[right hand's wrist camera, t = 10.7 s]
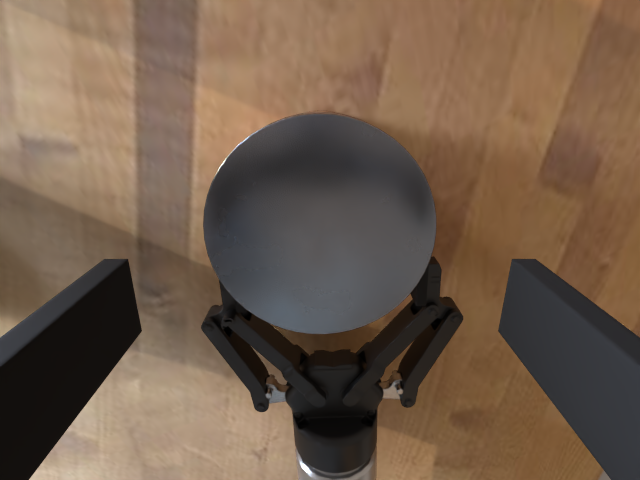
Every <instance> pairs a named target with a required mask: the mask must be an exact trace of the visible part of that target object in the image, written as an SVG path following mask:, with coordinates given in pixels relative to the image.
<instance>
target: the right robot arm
mask: <svg viewBox="0 0 640 480" xmlns="http://www.w3.org/2000/svg"><path fill="white" fill-rule="evenodd" d="M141 331H142V330H141V324H140V319H139V314H138V309H137V304H136V298H135V293H134V288H133V283H132V278H131V272H130V267H129V262H128V259H104V260H103V261H101V262H100V263H99V264H97V265H96V266H95V267H93V268H92V269H91V270H89V271H88V272H87V273H85V274H84V275H83V276H81V277H80V278H79V279H77V280H76V281H75V282H73V283H72V284H71V285H69V286H68V287H67V288H66V289H64V290H63V291H62V292H60V293H59V294H58V295H56V296H55V297H54V298H52V299H51V300H50V301H48V302H47V303H46V304H44V305H43V306H42V307H40V308H39V309H38V310H36V311H35V312H34V313H32V314H31V315H30V316H28V317H27V318H26V319H24V320H23V321H22V322H20V323H19V324H18V325H16V326H15V327H14V328H12V329H11V330H10V331H8V332H7V333H6V334H5V335H3V336H2V337H1V338H0V480H29V479H30V477H31V476H32V475H33V473H34V472H35V471H36V469H37V468H38V467H39V466H40V464H41V463H42V462H43V460H44V459H45V458H46V456H47V455H48V454H49V452H50V451H51V450H52V448H53V447H54V446H55V444H56V443H57V442H58V441H59V439H60V438H61V437H62V435H63V434H64V433H65V431H66V430H67V429H68V427H69V426H70V425H71V423H72V422H73V421H74V420H75V418H76V417H77V416H78V414H79V413H80V412H81V410H82V409H83V408H84V406H85V405H86V404H87V402H88V401H89V400H90V398H91V397H92V396H93V395H94V393H95V392H96V391H97V389H98V388H99V387H100V385H101V384H102V383H103V381H104V380H105V379H106V377H107V376H108V375H109V373H110V372H111V371H112V370H113V368H114V367H115V366H116V364H117V363H118V362H119V360H120V359H121V358H122V356H123V355H124V354H125V352H126V351H127V350H128V348H129V347H130V346H131V345H132V343H133V342H134V341H135V339H136V338H137V337H138V335H139V334H140V333H141ZM498 331H499V333H500V334H501V335H502V337H503V338H504V339H505V341H506V342H507V343H508V345H509V346H510V347H511V348H512V350H513V351H514V352H515V354H516V355H517V356H518V358H519V359H520V360H521V362H522V363H523V364H524V366H525V367H526V368H527V370H528V371H529V372H530V373H531V375H532V376H533V377H534V379H535V380H536V381H537V383H538V384H539V385H540V387H541V388H542V389H543V391H544V392H545V393H546V395H547V396H548V397H549V398H550V400H551V401H552V402H553V404H554V405H555V406H556V408H557V409H558V410H559V412H560V413H561V414H562V416H563V417H564V418H565V420H566V421H567V422H568V423H569V425H570V426H571V427H572V429H573V430H574V431H575V433H576V434H577V435H578V437H579V438H580V439H581V441H582V442H583V443H584V445H585V446H586V447H587V448H588V450H589V451H590V452H591V454H592V455H593V456H594V458H595V459H596V460H597V462H598V463H599V464H600V466H601V467H602V468H603V469H604V471H605V472H606V473H607V475H608V476H609V477H610V479H611V480H640V338H639V337H638V336H637V335H635V334H634V333H633V332H631V331H630V330H629V329H628V328H626V327H625V326H624V325H622V324H621V323H620V322H618V321H617V320H616V319H614V318H613V317H612V316H610V315H609V314H608V313H606V312H605V311H604V310H602V309H601V308H600V307H598V306H597V305H596V304H594V303H593V302H592V301H590V300H589V299H588V298H586V297H585V296H584V295H582V294H581V293H580V292H578V291H577V290H576V289H574V288H573V287H572V286H571V285H569V284H568V283H567V282H565V281H564V280H563V279H561V278H560V277H559V276H557V275H556V274H555V273H553V272H552V271H551V270H549V269H548V268H547V267H545V266H544V265H543V264H541V263H540V262H539V261H537V260H536V259H512V262H511V267H510V272H509V278H508V283H507V288H506V293H505V298H504V304H503V309H502V314H501V319H500V324H499V330H498Z"/></svg>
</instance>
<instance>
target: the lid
mask: <svg viewBox="0 0 640 480" xmlns="http://www.w3.org/2000/svg"><path fill="white" fill-rule="evenodd" d="M203 228H204V240H205V244H206V249H207V253H208V256H209V259H210V261H211V264H212V267H213V269H214V271H215V272H216V274H217V276H218V278H219V280H220V281H221V283H222V284H223V286H224V287H225V288H226V290H227V291H228V292H229V293H230V294H231V295H232V297H233V298H234V299H235V300H236V301H237V302H238V303H239V304H241V305H242V306H243V307H244V308H245V309H246V310H248V311H249V312H251V313H252V314H254V315H255V316H257V317H258V318H260V319H262V320H264V321H266V322H268V323H270V324H272V325H275V326H278V327H280V328H283V329H287V330H291V331H295V332H301V333H308V334H331V333H339V332H344V331H349V330H353V329H356V328H359V327H362V326H365V325H367V324H369V323H372V322H374V321H376V320H378V319H379V318H381V317H383V316H384V315H386V314H388V313H389V312H390V311H392V310H393V309H394V308H396V307H397V306H398V305H399V304H400V303H401V302H402V301H403V300H404V299H405V298H406V297H407V296H408V295H409V294H410V293H411V292H412V290H413V289H414V288H415V287H416V285H417V284H418V282H419V281H420V279H421V277H422V276H423V274H424V272H425V270H426V268H427V266H428V263H429V261H430V258H431V255H432V251H433V248H434V243H435V236H436V212H435V204H434V200H433V196H432V193H431V189H430V187H429V184H428V182H427V180H426V178H425V175H424V173H423V172H422V170H421V169H420V167H419V165H418V164H417V162H416V161H415V160H414V158H413V157H412V156H411V155H410V154H409V152H408V151H407V150H406V149H405V148H404V147H403V146H402V145H400V144H399V143H398V142H397V141H396V140H395V139H394V138H392V137H391V136H389V135H388V134H386V133H385V132H383V131H382V130H380V129H379V128H377V127H375V126H373V125H371V124H369V123H367V122H365V121H362V120H360V119H357V118H354V117H351V116H348V115H343V114H337V113H331V112H311V113H302V114H297V115H293V116H289V117H285V118H283V119H280V120H278V121H275V122H273V123H271V124H269V125H267V126H265V127H263V128H262V129H260V130H258V131H256V132H255V133H253V134H252V135H250V136H249V137H248V138H246V139H245V140H244V141H243V142H241V143H240V144H239V145H238V146H237V147H236V148H235V149H234V150H233V151H232V152H231V153H230V154H229V155H228V157H227V158H226V159H225V161H224V162H223V164H222V165H221V166H220V168H219V169H218V171H217V173H216V175H215V177H214V179H213V181H212V183H211V186H210V189H209V192H208V195H207V199H206V204H205V209H204V221H203Z"/></svg>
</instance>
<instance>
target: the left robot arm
mask: <svg viewBox="0 0 640 480" xmlns="http://www.w3.org/2000/svg"><path fill="white" fill-rule="evenodd" d="M440 281H441V267H440V265H439V263H438V262H437V260H436V259H435V257H431V258H430V261H429V263H428V266H427V268H426V270H425V272H424V274H423V276H422V277H421V279H420V281H419V282H418V284H417V285H416V287H415V288H414V289H413V290H412V292H411V293H410V294H411V296H412V298H413V300H412V301H411V302H410V303H409V304H408V305H407V306H406V307H405V308H404V309H403V310H402V311H401V312H400V313H399V314H398V315H397V316H396V317H395V318H394V319H393V320H392V321H391V322H390V323H389V324H388V325H387V326H386V327H385V328H384V329H383V330H382V331H381V332H380V333H379V334H378V335H377V336H376V337H375V338H374V339H373V340H372V341H371V342H367V343H366V344H365V345H364V346H363V347H362V348H361V349H360V350H359V351H358V352H357V353H356V354H355V353H352V352H350V349H347V350H338V351H335V352H329V351H324V350H319V351H314V354H311V355H308V354H307V353H306V352H305V351H304V350H303V349H302V348H301V347H300V346H298V345H293V344H292V343H291V342H290V341H288V340H287V339H286V338H285V337H284V336H283V335H282V334H281V333H279V332H278V331H277V330H276V329H275V328H274V327H273V326H272V325H270V324H269V323H268V322H266V321H264V320H262V319H260V318H258V317H257V316H255V315H254V314H252V313H251V312H249V311H248V310H246V309H245V308H244V307H243V306H242V305H241V304H239V303H238V302H237V301H236V300H235V299H234V298H233V297H232V295H231V294H230V293H229V292H228V291H227V290H226V288H225V287H224V286H223V284H222V283H221V281H220V280H219V282H220V289H221V295H222V302H223V305H220V306H219V305H214V306H212V307H211V308H210V310H209V312H208V314H207V315H206V317H205V319H204V321H203V323H202V325H201V329H202V331H203V332H204V333H205V334H206V336H207V337H208V338H209V340H210V341H211V342H212V343H213V345H214V346H215V347H216V349H217V350H218V351H219V353H220V354H221V355H222V356H223V358H224V359H225V360H226V362H227V363H228V364H229V365H230V367H231V368H232V369H233V371H234V372H235V373H236V374H237V376H238V377H239V378H240V380H241V381H242V382H243V383H244V385H245V386H246V387H247V389H248V390H249V391H250V393H251V397H252V400H253V404H254V408H255V409H256V410H257V411H259V412H265V411H266V410H267V409H268V407H269V403H276V402H284V401H286V402H287V403H288V405H289V406H290V407H291V409H292V413H293V425H294V436H295V445H296V459H297V468H298V478H299V480H376V473H377V446H376V443H377V407H378V405H379V403H380V402H381V400H382V398H386V399H400V401H401V404H402V406H404V407H407V408H408V407H412V406H413V405H414V404H415V401H416V396H417V391H418V387H419V385H420V384H421V382H422V381H423V379H424V378H425V376H426V375H427V373H428V372H429V370H430V369H431V367H432V366H433V364H434V363H435V361H436V360H437V358H438V357H439V355H440V354H441V352H442V351H443V349H444V348H445V346H446V345H447V343H448V342H449V340H450V339H451V337H452V336H453V334H454V333H455V331H456V330H457V328H458V327H459V325H460V324H461V322H462V321H463V315H462V314H461V312H460V311H459V309H458V307H457V306H456V304H455V303H454V301H453V300H452V299H451V298H450V297H443V298H442V297H439V296H440V283H441V282H440ZM411 342H413V343H412V345H411V346H410V348H409V349H408V351H407V353H406V354H405V356H404V357H403V359H402V361H401V363H400V365H399V368H398V371H397V370H394V371H393V372H392V375H391V377H390V379H389V380H388V381H385V382H381V380H380V378H381V377H382V376H383V374H384V371H385V368H386V367H387V366H388V365H389V364H390V363H391V362H392V361H393V360H394V359H395V358H396V357H397V356H398V355H399V354H400V353H401V352H402V351H403V350H404V349H405V348H406V347H407V346H408V345H409V344H410V343H411ZM249 344H250V345H251V346H252V347H253V348H254V349H255V350H257V351H258V352H259V353H260V354H261V355H262V356H264V357H265V358H266V359H267V360H268V361H270V362H271V363H272V364H273V365H274V366H275V367H277V368H278V369H279V370H280V371H281V372H282V374H283V377H284V379H285V380H286V381H288V382H287V384H286V385H281V384H279V383H278V382H277V380H276V379H275V376H274V375H273V374H270V375H269V374H268V371H267V369H266V367H265V365H264V364H263V362H262V361H261V360H260V358H259V357H258V355H257V354H256V353H255V351H254V350H253V349H252V347H251V346H250V345H249Z"/></svg>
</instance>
